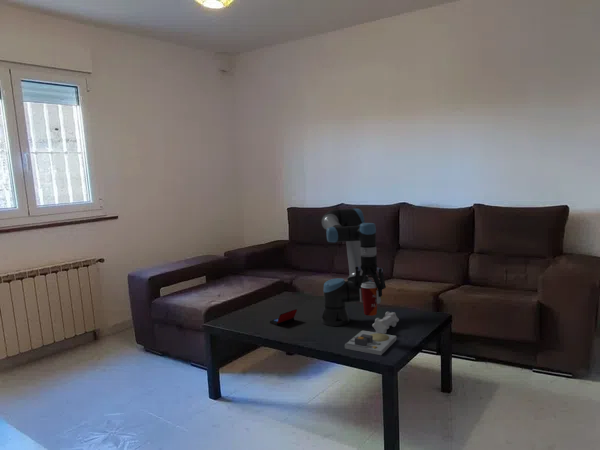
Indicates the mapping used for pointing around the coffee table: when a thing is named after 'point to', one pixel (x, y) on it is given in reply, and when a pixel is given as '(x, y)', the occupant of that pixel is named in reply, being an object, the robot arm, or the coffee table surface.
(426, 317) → the coffee table surface
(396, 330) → the coffee table surface
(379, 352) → the panel
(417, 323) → the coffee table surface
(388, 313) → the bone shaped toy
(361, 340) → the tagged breaker
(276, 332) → the coffee table surface
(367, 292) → the coffee cup
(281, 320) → the handheld game console
